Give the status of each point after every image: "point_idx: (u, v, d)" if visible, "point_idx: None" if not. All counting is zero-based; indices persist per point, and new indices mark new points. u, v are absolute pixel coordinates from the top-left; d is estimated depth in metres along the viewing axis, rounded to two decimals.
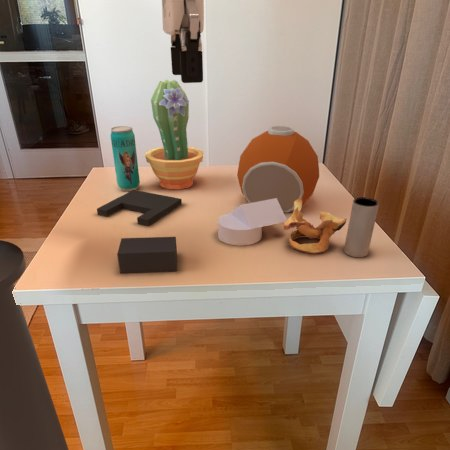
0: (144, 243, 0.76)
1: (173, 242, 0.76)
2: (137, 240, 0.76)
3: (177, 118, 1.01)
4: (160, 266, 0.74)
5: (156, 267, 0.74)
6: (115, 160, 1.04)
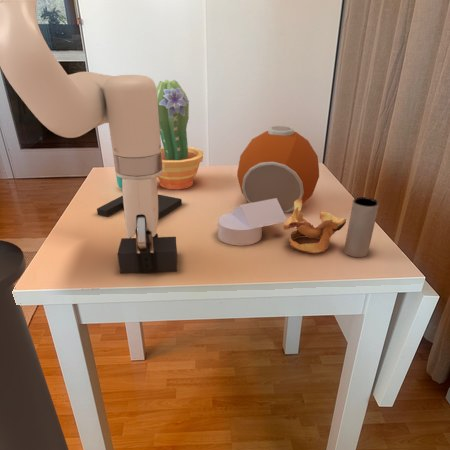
0: None
1: (173, 242, 0.76)
2: None
3: (177, 118, 1.01)
4: (160, 266, 0.74)
5: None
6: None
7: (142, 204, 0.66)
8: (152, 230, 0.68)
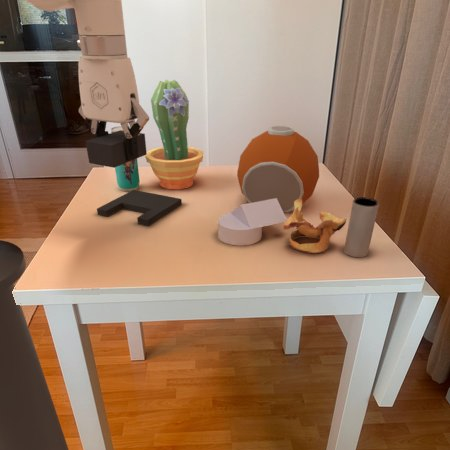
0: (110, 137, 0.79)
1: None
2: (101, 138, 0.78)
3: (177, 118, 1.01)
4: None
5: None
6: None
7: (132, 82, 0.72)
8: None
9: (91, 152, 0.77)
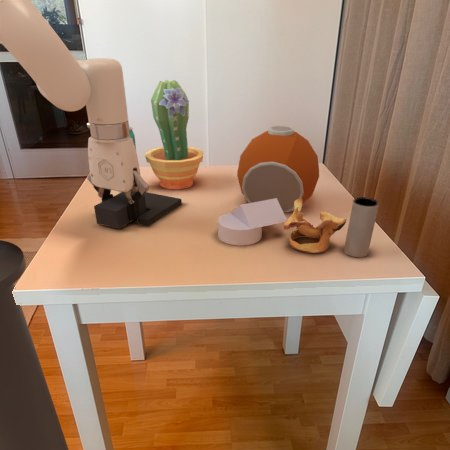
0: (115, 201, 0.91)
1: None
2: (107, 202, 0.90)
3: (177, 118, 1.01)
4: None
5: None
6: None
7: (134, 159, 0.84)
8: None
9: (99, 214, 0.89)
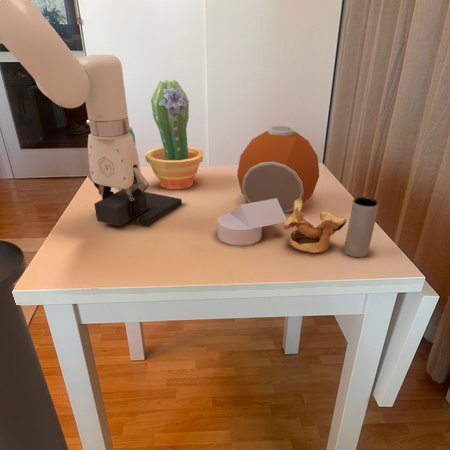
0: (116, 198, 0.91)
1: None
2: (107, 199, 0.90)
3: (177, 118, 1.01)
4: None
5: None
6: None
7: (134, 155, 0.84)
8: None
9: (99, 212, 0.89)
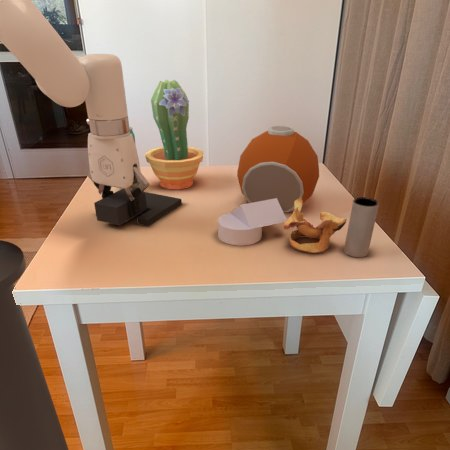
0: (115, 197, 0.91)
1: None
2: (107, 198, 0.90)
3: (177, 118, 1.01)
4: None
5: None
6: None
7: (134, 155, 0.84)
8: None
9: (99, 211, 0.89)
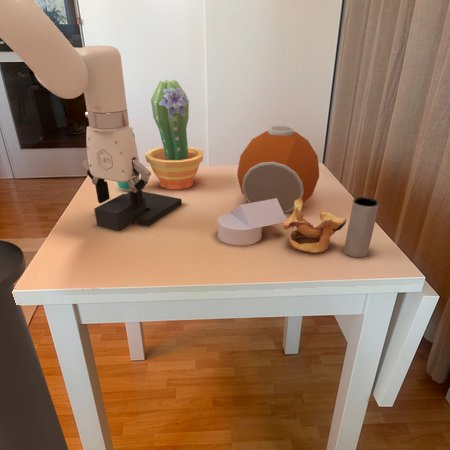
0: (115, 203, 0.91)
1: None
2: (107, 204, 0.91)
3: (177, 118, 1.01)
4: (138, 214, 0.94)
5: (137, 216, 0.93)
6: None
7: (133, 148, 0.83)
8: None
9: (99, 217, 0.89)
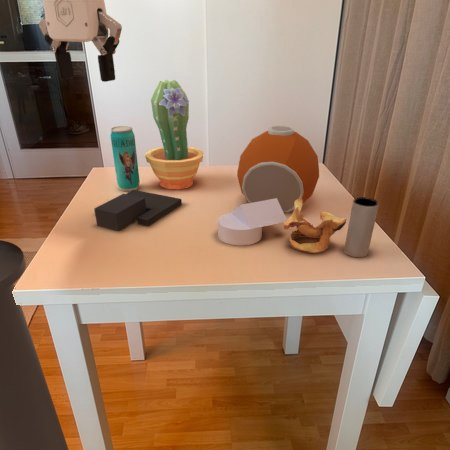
0: (115, 203, 0.91)
1: (130, 195, 0.95)
2: (107, 204, 0.91)
3: (177, 118, 1.01)
4: (138, 214, 0.94)
5: (137, 216, 0.93)
6: (115, 160, 1.04)
7: None
8: None
9: (99, 217, 0.89)
